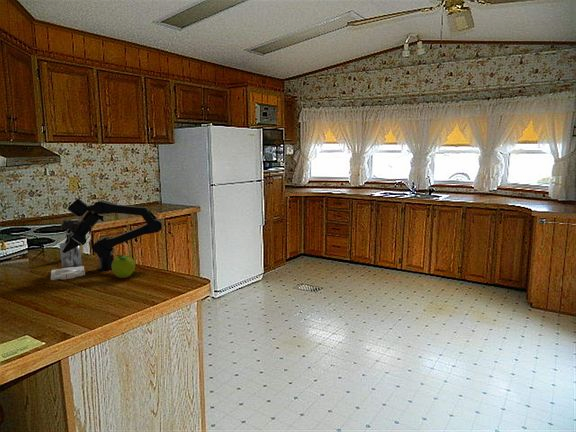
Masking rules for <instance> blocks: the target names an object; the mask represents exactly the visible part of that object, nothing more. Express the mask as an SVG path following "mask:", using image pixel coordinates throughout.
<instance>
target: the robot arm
mask: <svg viewBox="0 0 576 432" xmlns="http://www.w3.org/2000/svg"><path fill="white" fill-rule="evenodd" d="M67 210H68V211H69V212H70V213H72V214H73V216H75V217H77V218H80V217H81V218H82V217H83V218H82V219H81V220H79V221H78V222H77V223H74V222H73V221H72V220H73V219H68V220H67V219H62V221H61V223H60V227H61V228H63V229H66V230H65V237H66V239H65V241H64V243H66V242H68V243H67V245H66V246H65V248H64V249H63V251H62V252H63V253H66V252H68V251H70V250H72V249H74V248H76V247H78V246H80V245H81V244H82V245H83V246H85V244H87V238H86V236H87V235H88V233H89V232H92V230H93V227H94V226H96V224H97V223H98V222H99V221H100V222H102V223H103V222H105V221H104V219H105V218H104V217H105V216H104V215H105V214H106V215H108V214H125V215H133V216H134V215H135V216H141V217H142V219H143V220H144V221H145V222H146V223H144V225H142V226H140V227H137V228H135V229H131V230H129V231H126V232H124V233H122V234H119V235H118V234H117V236H112V237H109V235H106V236H104V237H100V238H98V239H96V242H94V244H93V245H92V251H93V253H95V254H96V255H97V257H98V260H99V267H97V268H96V269H97V270H101V271H104V272H106V271H109V270H112V267H111V265H112V262H113V260H114V259H115V258H114V257H115V256H114V252H115V248H114V247H116V246H119V245H121V244H123V243H125V242H129V241H131V240H133V239H136V238H138V237H141V236H143V235H149V234H150V235H152V234H155V233H159V232H160V231H161V230H162V228H163V226H164V223H163V220H162V219H160V218H158V217H157V216H155V214H154V213H153V212H152V211H150V209H149V207H147V206H137V205H126V204H117V203H114V202H111V201H108V200H103V199H100V200H98V201H95V203H94V204H89V205H88V204H87V203H85V202H84V201H83V200H81V199H80V198H76V199H75V201H73V202H72V203H71V204H70V205H69V206H68V207H67ZM80 243H81V244H80Z"/></svg>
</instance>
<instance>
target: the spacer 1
mask: <svg viewBox="0 0 576 432" xmlns="http://www.w3.org/2000/svg"><path fill="white" fill-rule="evenodd" d="M67 243H68V242H66V243H65V242H62V243H61V242H60V243H59V251H60V252H59V253H60V259H61V260H60V261H61V267H63V268H68V267H72V265H73V257H72V250H70V251H68V252H66V253H63V252H62V251H63V249H64V248H65V246H66V245H67Z"/></svg>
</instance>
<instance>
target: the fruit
mask: <svg viewBox="0 0 576 432" xmlns="http://www.w3.org/2000/svg"><path fill="white" fill-rule="evenodd" d="M111 267H112V269H111V271H112V273H113V274H114V275H115V276H116V277H117V278H120V279H121V278H122V279H126V278H129V277H130V276H131V275H133V273H134V271H135V269H136V261H135V260H134V258H133V257H132V256H130V255H129V256H128V255H125V256H124V255H123V253H122V254H116V255H115V258H114V260H113V262H112V265H111Z"/></svg>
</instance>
